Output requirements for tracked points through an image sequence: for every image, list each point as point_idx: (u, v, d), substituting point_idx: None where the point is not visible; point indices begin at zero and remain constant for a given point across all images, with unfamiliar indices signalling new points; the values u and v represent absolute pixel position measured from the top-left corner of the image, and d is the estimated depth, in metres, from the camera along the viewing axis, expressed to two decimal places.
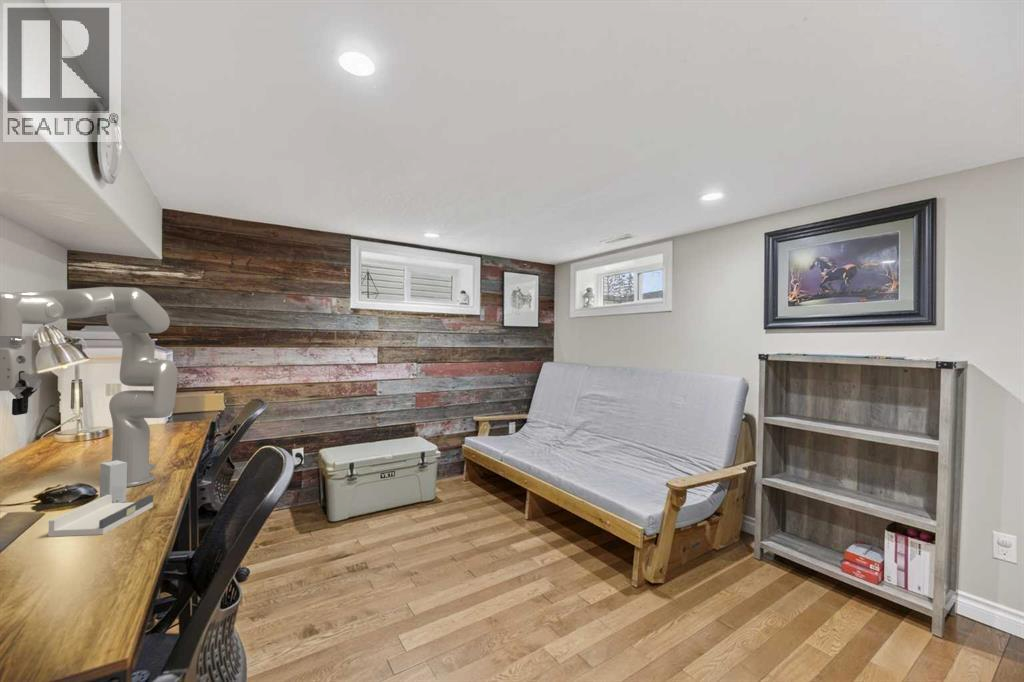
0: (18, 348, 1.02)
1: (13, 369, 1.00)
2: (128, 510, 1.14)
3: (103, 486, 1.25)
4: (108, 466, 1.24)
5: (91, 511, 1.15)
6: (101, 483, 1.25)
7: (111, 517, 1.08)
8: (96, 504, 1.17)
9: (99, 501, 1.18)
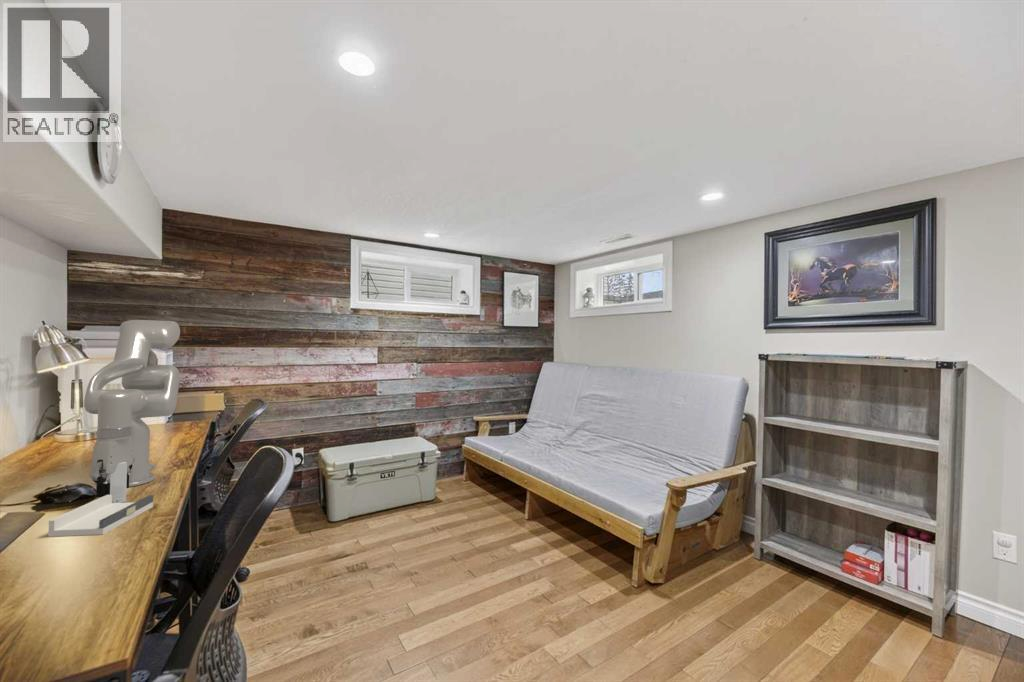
0: None
1: None
2: (128, 510, 1.14)
3: None
4: None
5: (91, 511, 1.15)
6: None
7: (111, 517, 1.08)
8: (96, 504, 1.17)
9: (99, 501, 1.18)
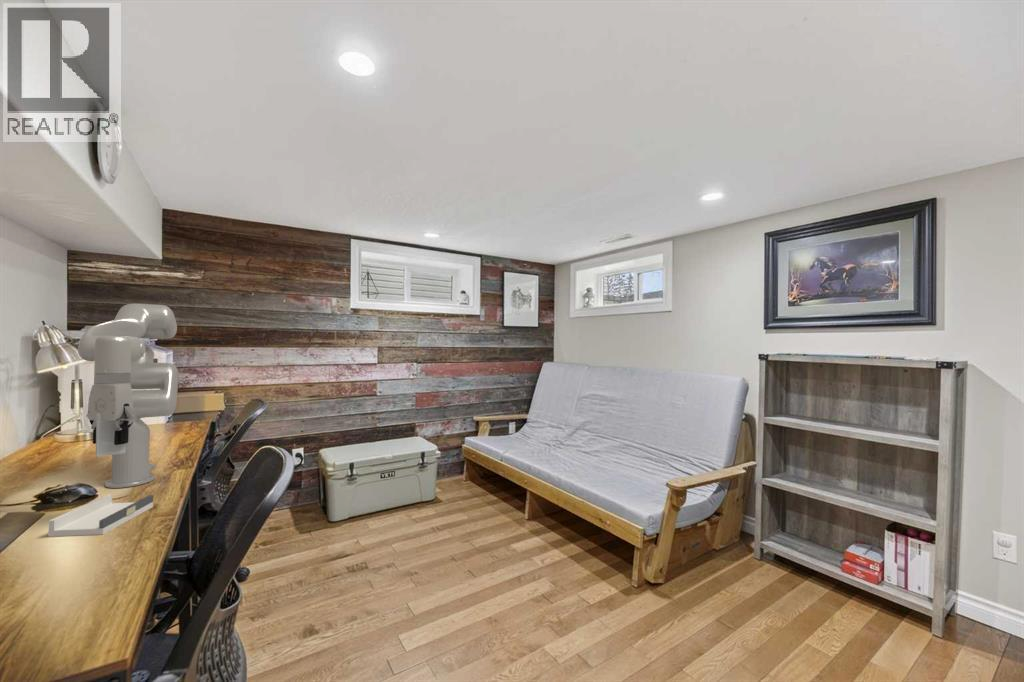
0: None
1: None
2: (128, 510, 1.14)
3: (108, 436, 1.16)
4: None
5: (91, 511, 1.15)
6: (102, 434, 1.15)
7: (111, 517, 1.08)
8: (96, 504, 1.17)
9: (99, 501, 1.18)
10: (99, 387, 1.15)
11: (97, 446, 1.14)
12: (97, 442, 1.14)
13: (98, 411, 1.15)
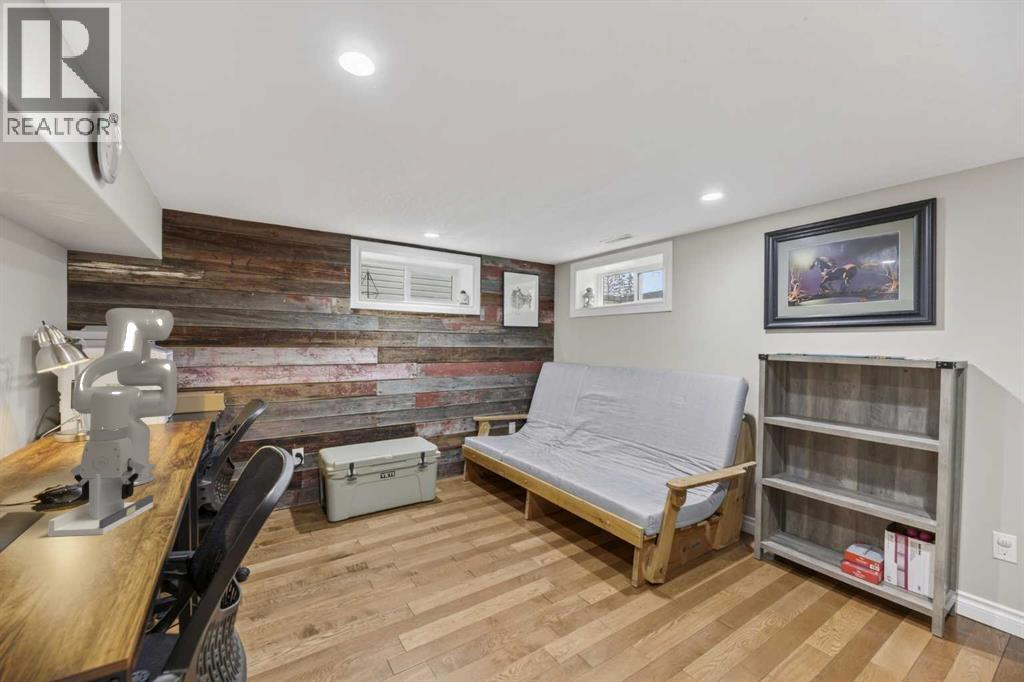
0: None
1: None
2: (128, 510, 1.14)
3: (108, 496, 1.13)
4: None
5: None
6: (102, 495, 1.11)
7: (111, 517, 1.08)
8: None
9: None
10: (98, 444, 1.11)
11: (97, 508, 1.11)
12: (97, 504, 1.11)
13: (97, 469, 1.11)
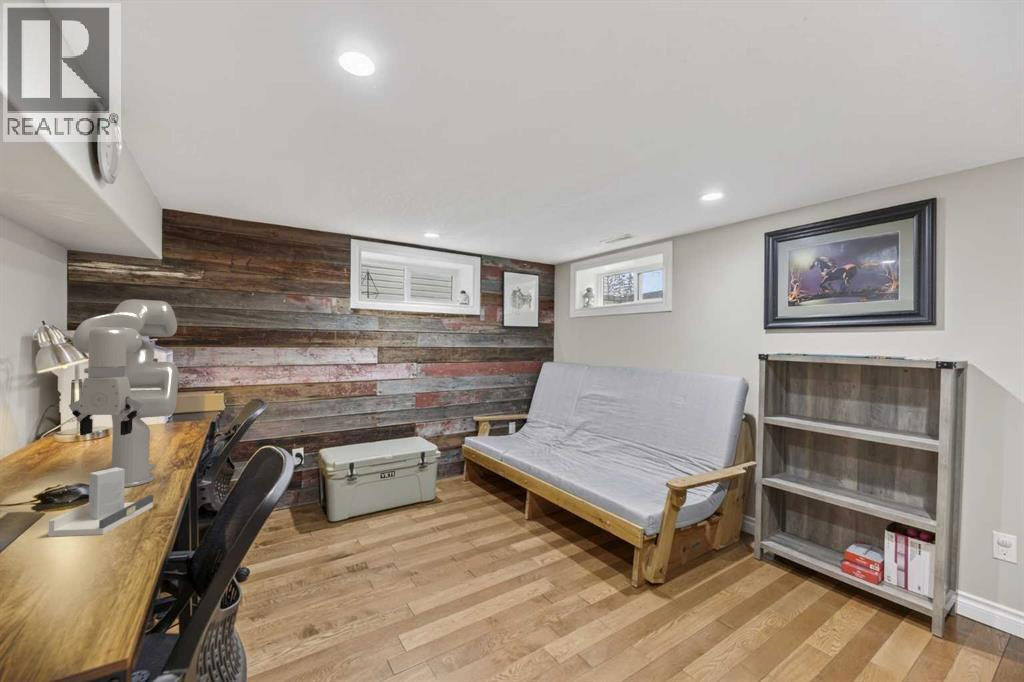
0: None
1: None
2: (128, 510, 1.14)
3: (108, 496, 1.13)
4: (120, 471, 1.15)
5: None
6: (102, 495, 1.11)
7: (111, 517, 1.08)
8: None
9: None
10: (96, 380, 1.13)
11: (97, 508, 1.11)
12: (97, 504, 1.11)
13: (96, 405, 1.13)
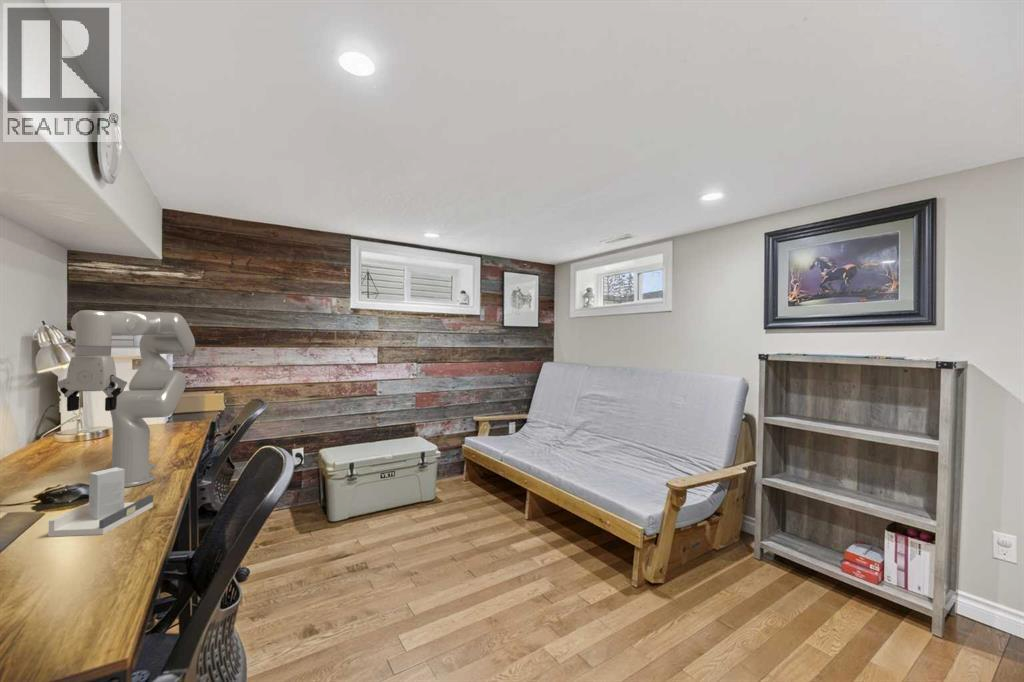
0: None
1: None
2: (128, 510, 1.14)
3: (108, 496, 1.13)
4: (120, 471, 1.15)
5: None
6: (102, 495, 1.11)
7: (111, 517, 1.08)
8: None
9: None
10: (82, 358, 1.20)
11: (97, 508, 1.11)
12: (97, 504, 1.11)
13: (82, 382, 1.20)
